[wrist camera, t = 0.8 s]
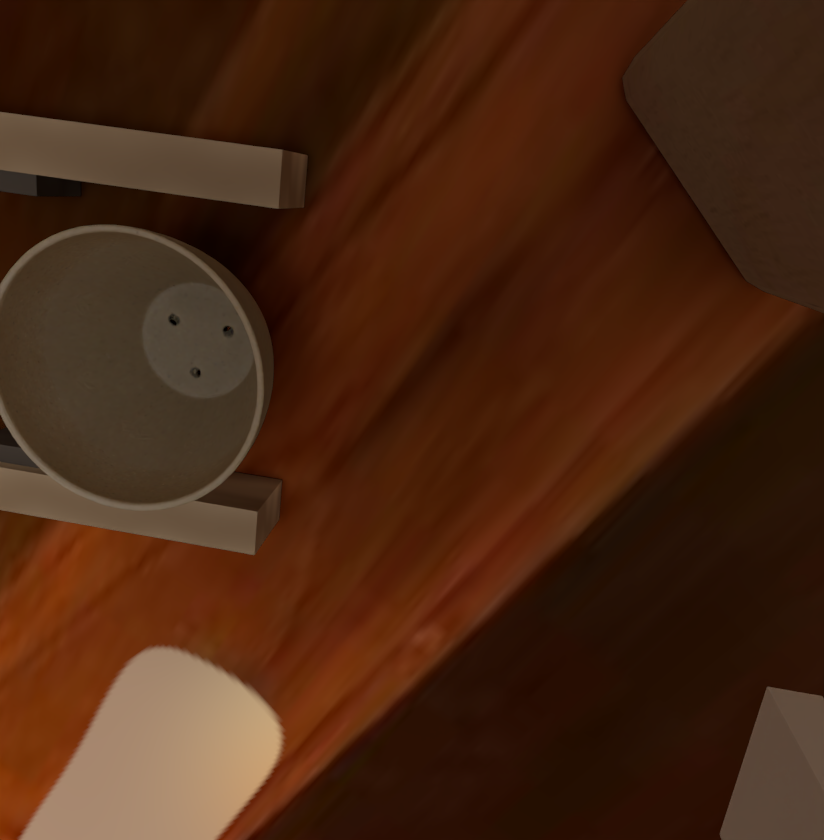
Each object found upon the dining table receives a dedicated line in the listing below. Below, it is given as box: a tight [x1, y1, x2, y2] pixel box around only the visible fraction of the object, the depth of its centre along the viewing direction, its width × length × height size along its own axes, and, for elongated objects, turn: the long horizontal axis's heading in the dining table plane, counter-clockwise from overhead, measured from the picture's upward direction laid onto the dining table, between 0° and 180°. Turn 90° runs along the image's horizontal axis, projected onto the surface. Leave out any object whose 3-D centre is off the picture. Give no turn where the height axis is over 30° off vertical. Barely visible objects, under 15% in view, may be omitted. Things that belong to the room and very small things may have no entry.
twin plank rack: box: [0, 112, 308, 555], centre depth 30 cm, size 16×18×4 cm
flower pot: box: [0, 224, 274, 511], centre depth 28 cm, size 10×10×7 cm
